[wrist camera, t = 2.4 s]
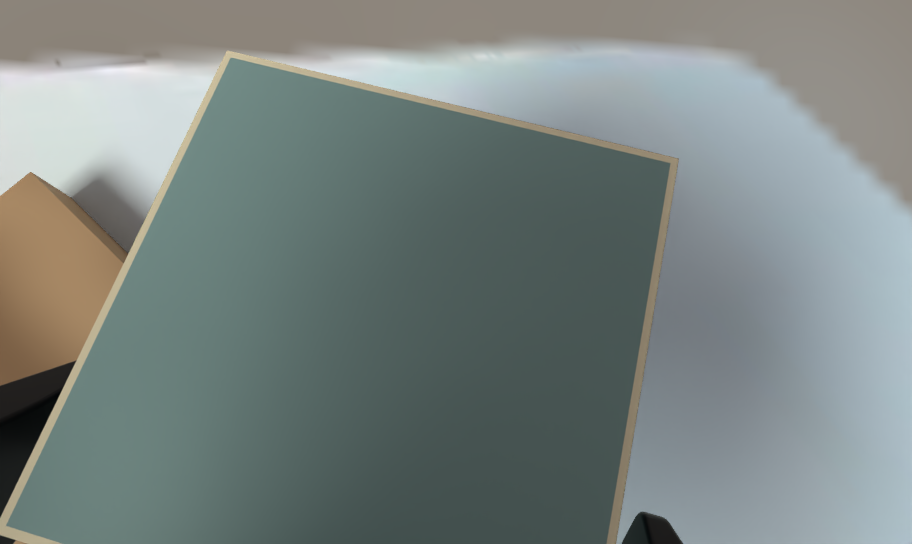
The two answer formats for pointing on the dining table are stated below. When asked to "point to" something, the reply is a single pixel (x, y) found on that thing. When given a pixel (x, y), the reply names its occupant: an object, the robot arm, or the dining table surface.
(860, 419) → the dining table surface
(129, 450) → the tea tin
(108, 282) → the block
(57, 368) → the robot arm
